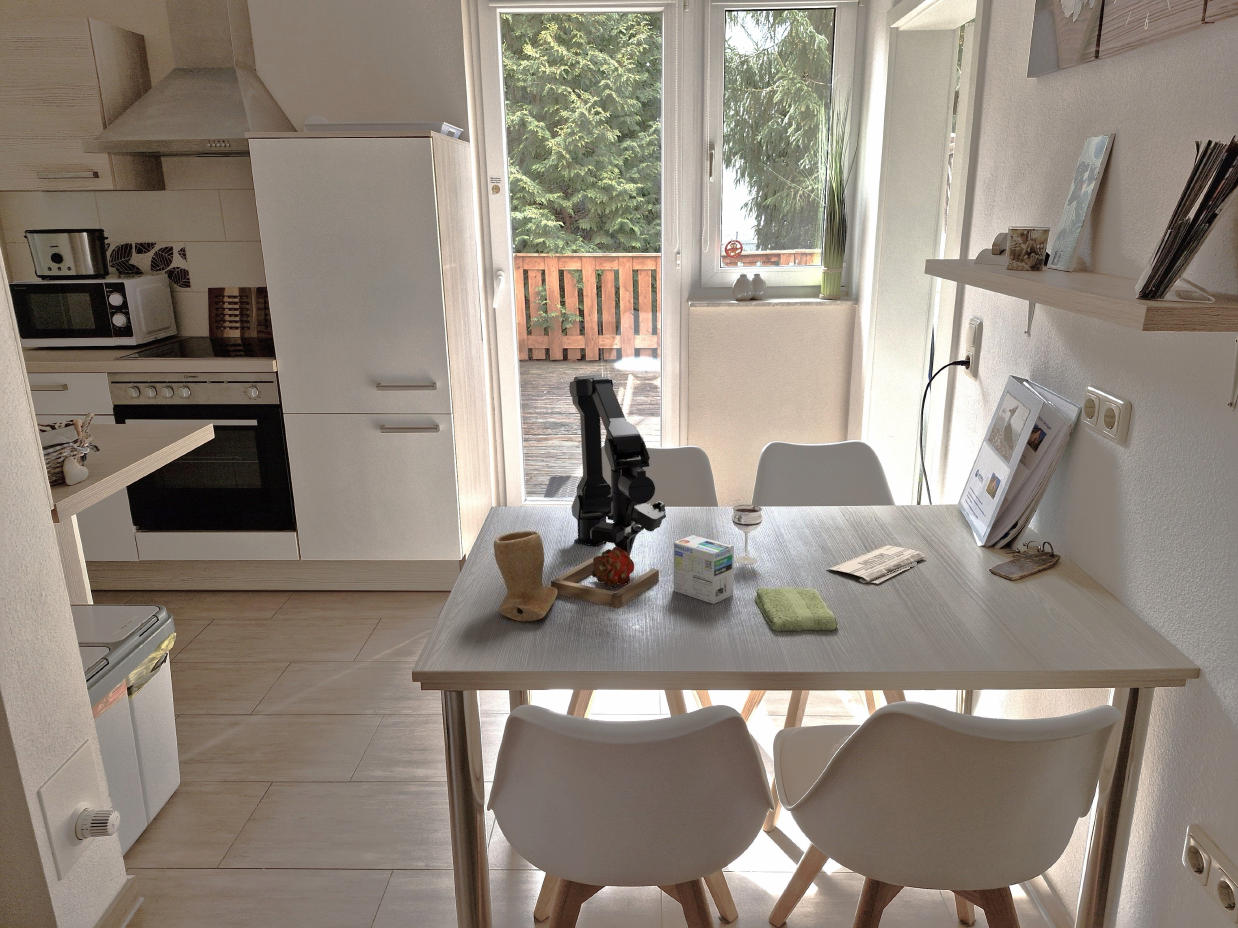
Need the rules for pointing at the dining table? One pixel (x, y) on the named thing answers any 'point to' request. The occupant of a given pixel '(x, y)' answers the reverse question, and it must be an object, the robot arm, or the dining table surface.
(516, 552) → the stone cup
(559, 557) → the dining table surface
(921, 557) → the newspaper
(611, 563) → the dragon fruit
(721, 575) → the light bulb box
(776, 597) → the washcloth
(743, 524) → the wineglass
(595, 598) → the frame
